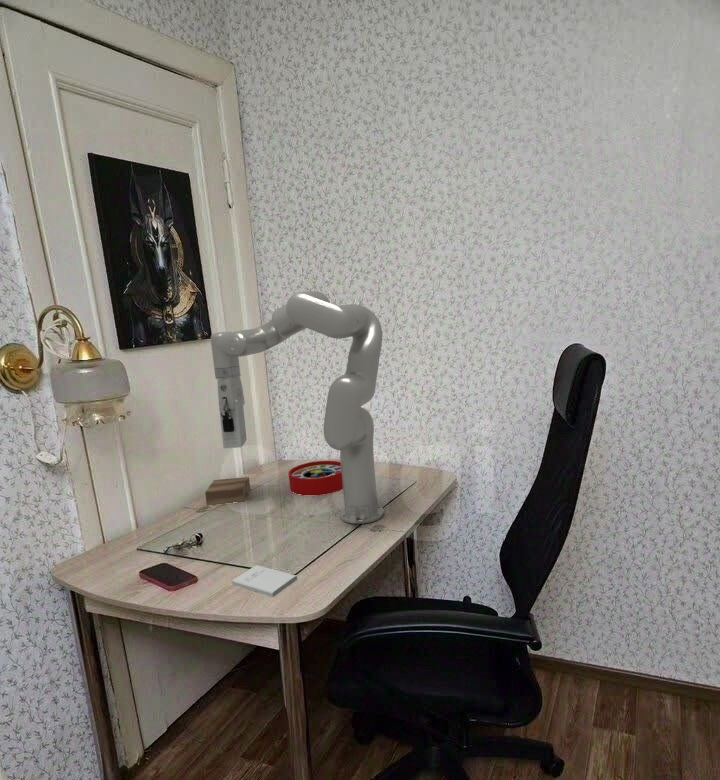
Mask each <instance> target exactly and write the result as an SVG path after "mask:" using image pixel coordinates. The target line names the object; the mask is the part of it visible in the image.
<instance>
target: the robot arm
mask: <svg viewBox="0 0 720 780" xmlns="http://www.w3.org/2000/svg"><path fill="white" fill-rule="evenodd" d="M381 324H382V323H380V319H379V318H378V317H377V315H376V314H375V313H374V312H373V311H372V310H370V308H368V307H366V306H365V305H360V304H355V303H353V304H351V303H350V304H349V303H348V304H341V305H337V304H335V303H332V302H330V300H329V298H328V296H327V295H326V294H324V292H323V293H322V292H321V291H317V290H305V291H297V292H295V293H293V294H292V295H291V296H290V297H289V298H288V300H287V302H286V304H284V305H282V306H281V307H278V308H277V309H275V310H273V312H272V315H271V319H270V320H269V321H267V322H266V323H264V324H262V325H260V326H258V327H255V328H248V329H243V330H238V331H237V330H235V331H220V332H214V333H212V334H211V335H210V345H211V346H210V347H211V353H212V360H213V368H214V377H215V380H217V396H218V407H219V406H220V407H219V409H220V410H219V409H218V410H219V415H220V414H221V418H222V423H223V431H224V432H233V431H234V423H233V418H232V409H233V410H234V411H235V410H236V404H235V401H236V400H239V402H240V406H241V407H242V406H243V407H244V406H245V402H246V401H245V396H244V390H243V389H244V388H243V385H242V381H241V377H242V375H241V367H240V360H239V358H241V357H246V356H250V355H254V354H260V353H263V352H265V351H268V350H269V349H272V348H273V347H275V346H277V345H279V344H282V343H283V342H284V341H287V339H289V338H290V337H293V336H294V335H296V334H297V333H300V332H301V331H304V330H306V329H308V330H310V331H313V332H315V333H318V334H321V335H323V336H326V337H329V338H332V339H339V340H341V339H346V338H350V337H352V343H351V345H350V347H349V352H348V356H347V364H346V369H345V373H344V374H342V375H340V376H339V377H337V378H336V379H335V380H333V381H332V383H331V385H330V386H329V389H328V392H327V396H326V397H327V398H326V403H325V404H326V405H325V406H326V407H325V413H324V421H323V437H324V440H325V442H326V444H327V445H328V446H329V447H330V448H331V449H333V450H335V451H336V450H337V451H339V460H340V461H339V462H341V474H342V484H343V489H342V493H343V503H344V508H343V509H342V510H341V511H340V513H339V518H340V520H341V521H343V522H345V523H346V524H347V523H348V524H353V525H354V524H356V525H359V524H360V525H361V524H362V525H363V524H368V523H373V522H376V521H378V520H380V519H381V518H382V517H384V515H385V514H384V513H385V510H384V508H383V507H382V506H381V505H378V494H377V493H378V492H377V483H376V482H377V481H376V471H375V456H374V432H375V431H374V430H375V427H374V426H375V425H374V419H373V418H372V415H371V413H370V412H369V411H368V410H367V409H365V408H363V407H362V406H364V405H366V404H368V403H369V402H371V400H372V399H373V398H374V395H375V392H376V387H377V386H376V385H377V380H378V372H379V366H380V365H379V364H380V356H381V351H382V346H383V344H382V343H383V329H382V325H381ZM239 398H240V399H239ZM227 403H228V405H229V407H230V409H225V407H226V404H227ZM227 411H229V414H228V412H227ZM220 412H221V413H220Z"/></svg>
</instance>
